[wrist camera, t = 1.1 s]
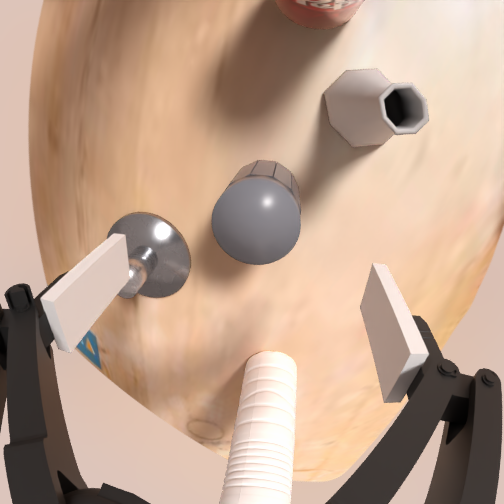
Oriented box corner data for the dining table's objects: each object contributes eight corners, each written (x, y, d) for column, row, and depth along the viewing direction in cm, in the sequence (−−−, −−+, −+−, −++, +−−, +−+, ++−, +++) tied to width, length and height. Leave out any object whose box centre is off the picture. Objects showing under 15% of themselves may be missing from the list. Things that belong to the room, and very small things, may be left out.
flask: (347, 160, 26) (377, 188, 17) (309, 87, 23) (320, 75, 14) (415, 129, 23) (471, 144, 15) (379, 56, 21) (424, 34, 12)
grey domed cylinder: (233, 157, 27) (212, 177, 20) (301, 164, 26) (306, 186, 19) (230, 220, 30) (210, 259, 22) (293, 227, 29) (294, 269, 22)
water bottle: (246, 380, 40) (212, 558, 17) (246, 347, 37) (203, 551, 14) (310, 385, 39) (305, 565, 16) (317, 352, 36) (319, 560, 14)
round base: (103, 209, 31) (72, 230, 25) (190, 216, 30) (168, 241, 24) (114, 287, 35) (90, 316, 30) (192, 300, 34) (176, 335, 29)
